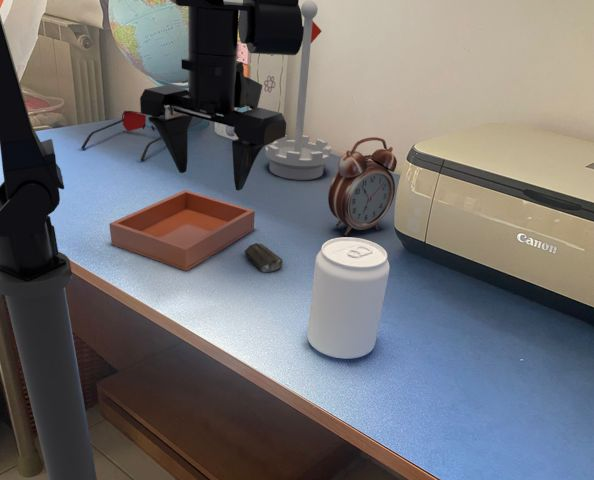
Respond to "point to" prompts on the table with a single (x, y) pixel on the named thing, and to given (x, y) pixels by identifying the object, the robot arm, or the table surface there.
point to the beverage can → (347, 297)
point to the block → (263, 257)
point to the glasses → (129, 126)
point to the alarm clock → (363, 187)
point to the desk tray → (182, 229)
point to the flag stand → (300, 121)
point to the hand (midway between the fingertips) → (210, 180)
